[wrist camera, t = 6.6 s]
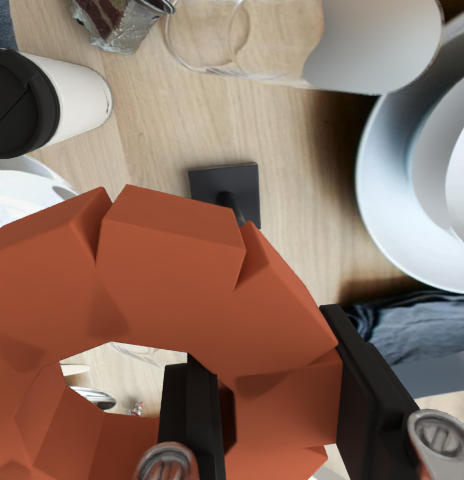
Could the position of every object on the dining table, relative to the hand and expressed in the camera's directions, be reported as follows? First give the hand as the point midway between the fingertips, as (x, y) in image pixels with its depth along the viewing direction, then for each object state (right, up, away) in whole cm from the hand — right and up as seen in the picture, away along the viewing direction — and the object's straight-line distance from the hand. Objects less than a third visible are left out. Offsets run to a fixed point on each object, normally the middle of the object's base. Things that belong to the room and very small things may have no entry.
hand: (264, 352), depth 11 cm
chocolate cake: (-13, +27, +24) cm, 38 cm away
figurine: (-16, -23, +42) cm, 51 cm away
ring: (-4, 0, 0) cm, 4 cm away
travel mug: (-17, +19, +27) cm, 37 cm away
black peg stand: (-2, +9, +33) cm, 34 cm away
